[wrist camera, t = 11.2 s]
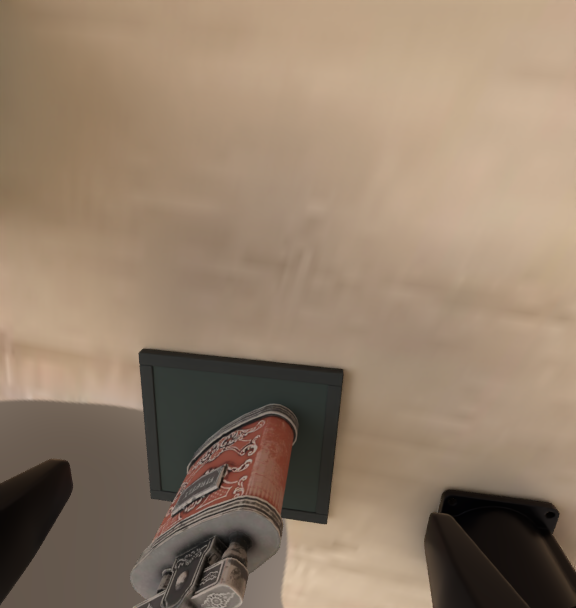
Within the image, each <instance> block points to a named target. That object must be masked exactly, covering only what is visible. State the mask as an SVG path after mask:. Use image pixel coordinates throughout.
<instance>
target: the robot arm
mask: <svg viewBox="0 0 576 608" xmlns="http://www.w3.org/2000/svg"><path fill="white" fill-rule="evenodd" d="M72 489H73V482H72V477H71V470H70V465H69V463H68V461H66V460H60V459H49V460H47V461H45V462H43V463H41V464H39V465H37V466H35V467H33V468H31V469H29V470H27V471H25V472H23V473H21V474H19V475H17V476H15V477H13V478H11V479H9V480H6V481H4V482H3V483H0V605H1V603H2V602H3V600H4V599H5V598H6V596H7V595H8V594H9V592H10V591H11V589H12V588H13V586H14V585H15V584H16V582H17V581H18V579H19V578H20V576H21V575H22V574H23V572H24V571H25V569H26V568H27V566H28V565H29V563H30V562H31V561H32V559H33V558H34V556H35V554H36V553H37V551H38V550H39V548H40V546H41V545H42V543H43V541H44V540H45V538H46V536H47V534H48V533H49V531H50V529H51V528H52V526H53V524H54V523H55V521H56V519H57V517H58V516H59V514H60V512H61V511H62V509H63V507H64V506H65V504H66V502H67V501H68V499H69V497H70V495H71V492H72ZM451 498H454V499H452V500H449V499H451ZM547 512H548V513H547ZM558 518H559V512H558V510H557V509H556V507H555V506H554V505H553V504H551V503H546V502H539V501H531V500H524V499H516V498H509V497H501V496H494V495H486V494H479V493H471V492H464V491H456V490H447V491H445V492H444V493H443V494H442V497H441V502H440V506H439V510H438V513H437V512H433V513H431V515H430V517H429V521H428V526H427V530H426V535H425V541H424V546H425V555H426V562H427V569H428V575H429V582H430V589H431V596H432V603H433V608H576V571H575V570H574V568H573V567H572V565H571V563H570V562H569V560H568V559H567V557H566V556H565V554H564V552H563V551H562V549H561V548H560V546H559V544H558V543H557V541H556V540H555V538H554V536H553V535H552V534H553V531H554V529H555V526H556V523H557V521H558Z"/></svg>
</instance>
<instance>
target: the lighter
mask: <svg viewBox="0 0 576 608" xmlns="http://www.w3.org/2000/svg"><path fill="white" fill-rule="evenodd" d="M298 426H299V424H298V420H297V418H296V416H295V415H294V413H293V412H292V411H291V410H289V409H288V408H287V407H285V406H282V405H280V404H269V405H266V406H263V407H261V408H259V409H256V410H254V411H251V412H249V413H246V414H244V415H243V416H241V417H239V418H237V419H236V420H234V421H232V422H230V423H229V424H227V425H225V426H224V427H223V428H221V429H220V430H219V431H218V432H216V433H215V434H214V435H213V436H211V437H210V438H209V439H208V440H207V441H206V442H205V443H204V444H203V445H202V446H201V447H200V448H199V449H198V450H197V451H196V452H195V454H194V455H193V457H192V459H191V461H190V463H189V465H188V467H187V475H186V477H185V479H184V481H183V483H182V485H181V487H180V489H179V491H178V493H177V495H176V497H175V499H174V500H173V502H172V504H171V507H170V508H169V510H168V513H167V514H166V516H165V518H164V520H163V522H162V524H161V526H160V527H159V529H158V531H157V534H156V535H155V537H154V539H153V541H152V543H151V545H150V546H149V547H147V549H146V550H145V551H143V552H142V554H141V555H140V557H139V559H138V561H137V563H136V565H135V566H134V568H133V570H132V572H131V574H130V581H131V583H132V586H133V588H134V589H135V590H136V591H137V592H138V594H139V595H140V596H142V597H143V598H144V599H146V600H145V601H143V602H142V603H140V604H138V605H136V606H134V607H133V608H237V607H238V606H240V605H241V604H242V602H243V597H244V593H245V588H246V584H247V580H248V575H249V574H250V573H251V572H253V571H254V570H256V569H257V568H258V567H259V566H261V565H262V564H263V563H264V562H266V561H267V560H268V559H269V558H271V557H272V556H273V555H274V554H276V552H277V551H278V549H279V548H280V543H281V536H282V529H283V521H282V518H281V509H282V503H283V497H284V491H285V486H286V480H287V474H288V468H289V462H290V456H291V450H292V446H293V445H294V443H295V442H296V440H297V433H298Z"/></svg>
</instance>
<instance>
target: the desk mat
mask: <svg viewBox="0 0 576 608" xmlns="http://www.w3.org/2000/svg"><path fill="white" fill-rule="evenodd" d="M139 364H140V375H141V387H142V399H143V410H144V422H145V434H146V445H147V457H148V469H149V480H150V493H151V499H158V500H165V501H171V502H173V500H174V499H175V497H176V495H177V493H178V491H179V489H180V487H181V485H182V483H183V481H184V479H185V477H186V475H187V467H188V465H189V463H190V461H191V459H192V457H193V455H194V454H195V452H196V451H197V450H198V449H199V448H200V447H201V446H202V445H203V444H204V443H205V442H206V441H207V440H208V439H209V438H210V437H211V436H213V435H214V434H215V433H216V432H218V431H219V430H220V429H221V428H223V427H224V426H225V425H227V424H229V423H230V422H232V421H234V420H236V419H237V418H239V417H241V416H243V415H244V414H246V413H249V412H251V411H254V410H256V409H259V408H261V407H263V406H266V405H269V404H280V405H282V406H285V407H287V408H288V409H289V410H291V411H292V412H293V413H294V415H295V416H296V418H297V420H298V424H299V426H298V433H297V440H296V442H295V443H294V445H293V446H292V450H291V456H290V462H289V468H288V474H287V480H286V486H285V491H284V497H283V503H282V509H281V518H286V519H293V520H300V521H307V522H313V523H320V524H327V519H328V509H329V500H330V491H331V482H332V473H333V464H334V455H335V446H336V437H337V428H338V419H339V410H340V401H341V392H342V383H343V370H342V369H334V368H324V367H314V366H305V365H295V364H285V363H276V362H266V361H256V360H247V359H237V358H228V357H218V356H208V355H199V354H189V353H179V352H170V351H160V350H150V349H142V350H141V351H140V352H139Z"/></svg>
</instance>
